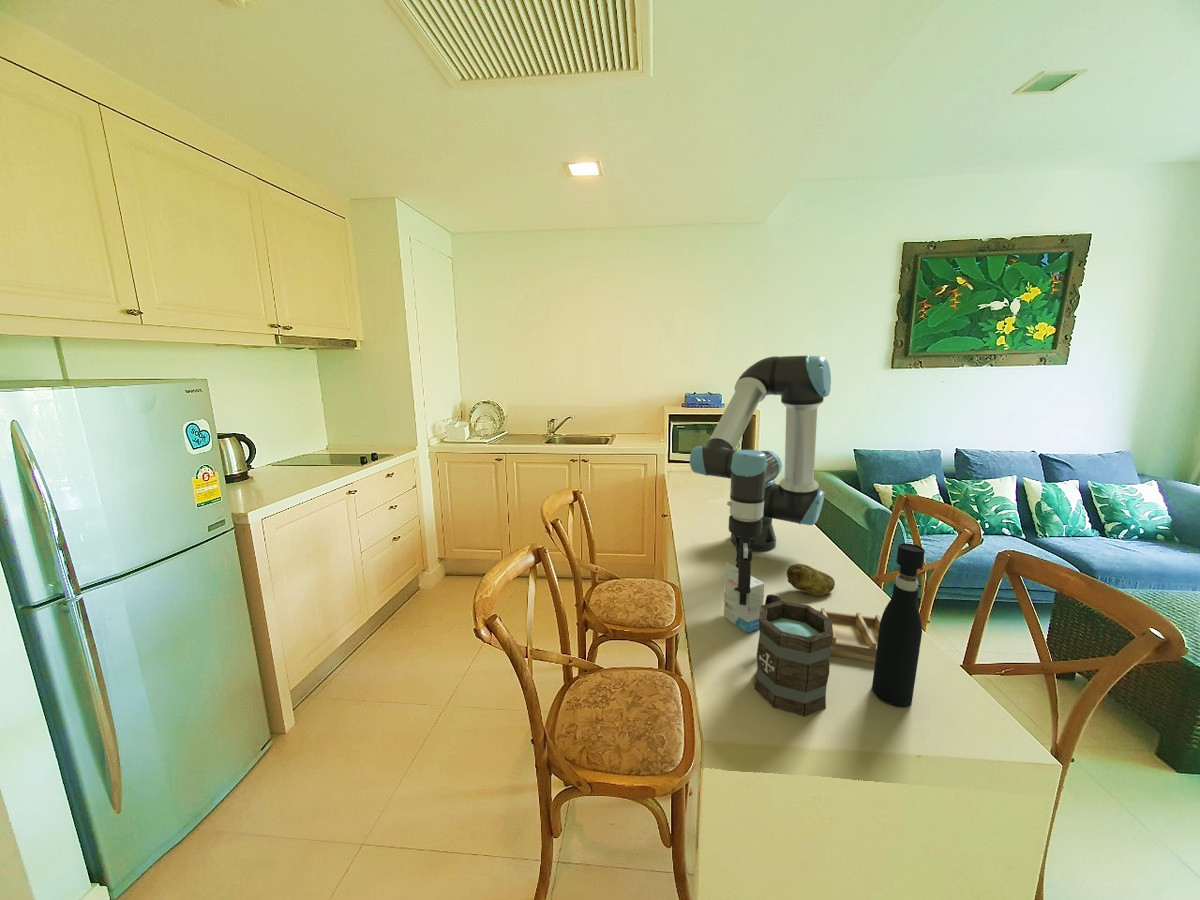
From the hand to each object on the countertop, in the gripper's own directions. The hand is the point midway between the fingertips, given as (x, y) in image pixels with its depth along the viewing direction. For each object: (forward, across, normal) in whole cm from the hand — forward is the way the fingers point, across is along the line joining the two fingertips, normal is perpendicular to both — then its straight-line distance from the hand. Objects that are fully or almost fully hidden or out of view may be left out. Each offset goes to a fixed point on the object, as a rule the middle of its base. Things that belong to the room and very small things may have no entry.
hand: (740, 604), depth 106 cm
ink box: (+5, 0, 0) cm, 5 cm away
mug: (+5, +18, +8) cm, 20 cm away
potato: (+5, -19, +19) cm, 28 cm away
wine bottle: (+5, +18, +27) cm, 33 cm away
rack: (+5, +2, +21) cm, 22 cm away
